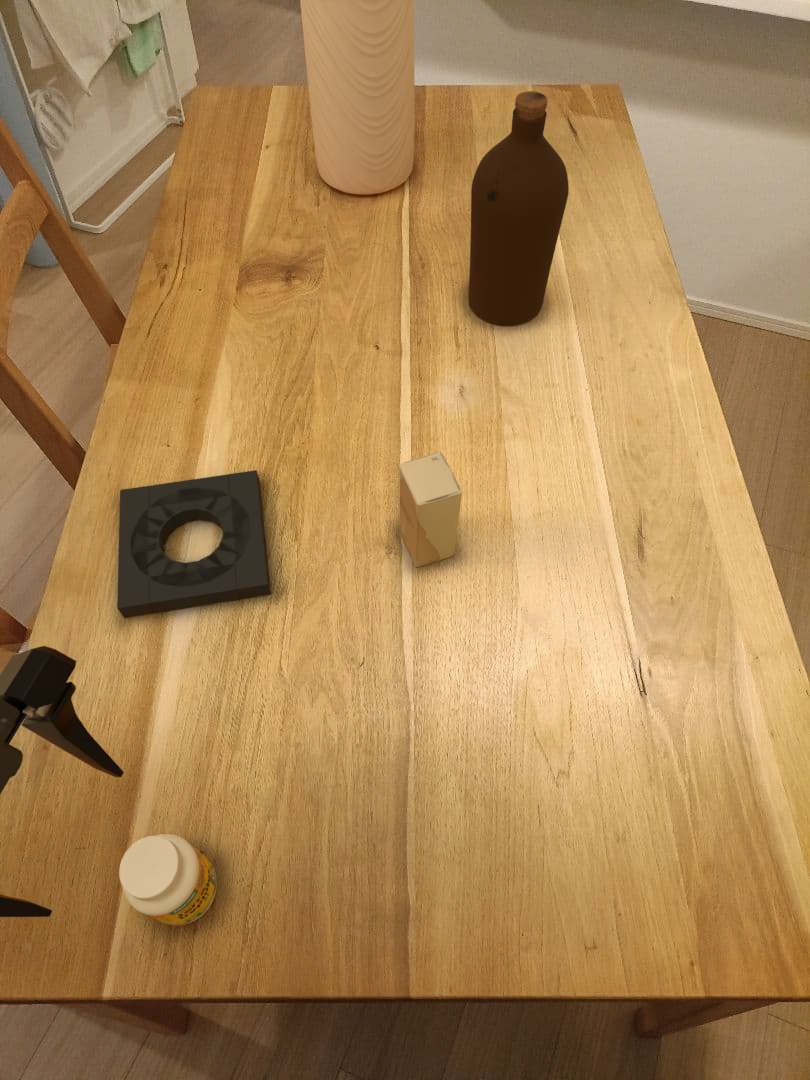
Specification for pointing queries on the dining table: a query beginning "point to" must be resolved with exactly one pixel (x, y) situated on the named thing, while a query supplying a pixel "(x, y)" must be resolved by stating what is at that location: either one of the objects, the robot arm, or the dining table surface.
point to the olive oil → (516, 218)
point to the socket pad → (213, 579)
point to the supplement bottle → (167, 879)
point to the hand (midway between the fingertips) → (86, 840)
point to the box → (428, 508)
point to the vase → (361, 91)
